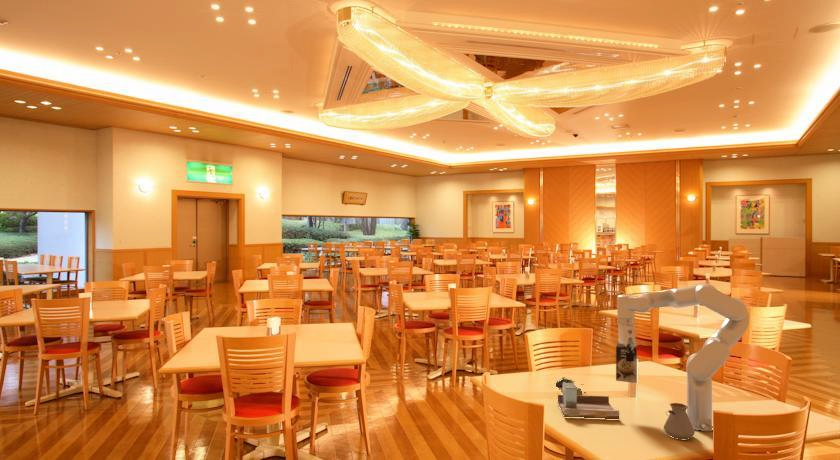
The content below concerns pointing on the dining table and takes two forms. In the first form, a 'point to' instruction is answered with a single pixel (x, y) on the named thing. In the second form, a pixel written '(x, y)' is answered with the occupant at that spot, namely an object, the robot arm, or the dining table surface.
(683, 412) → the coffee pot
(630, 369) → the coffee box
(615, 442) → the dining table surface
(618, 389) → the dining table surface
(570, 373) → the dining table surface
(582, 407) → the flat grey tray
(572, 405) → the tea tin
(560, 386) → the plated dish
